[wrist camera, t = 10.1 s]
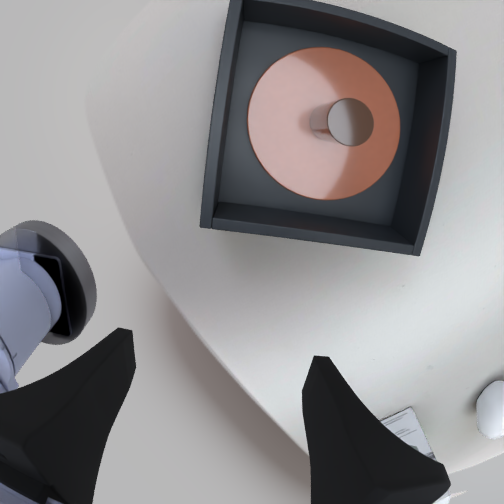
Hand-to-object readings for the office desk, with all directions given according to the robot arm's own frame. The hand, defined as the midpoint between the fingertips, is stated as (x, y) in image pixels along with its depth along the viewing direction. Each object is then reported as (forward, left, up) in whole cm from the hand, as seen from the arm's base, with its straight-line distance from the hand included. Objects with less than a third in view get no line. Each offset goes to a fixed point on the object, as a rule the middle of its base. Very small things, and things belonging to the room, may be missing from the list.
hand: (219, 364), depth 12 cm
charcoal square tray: (+4, +10, -9) cm, 14 cm away
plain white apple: (+32, -13, -10) cm, 36 cm away
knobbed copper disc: (+4, +10, -9) cm, 14 cm away
